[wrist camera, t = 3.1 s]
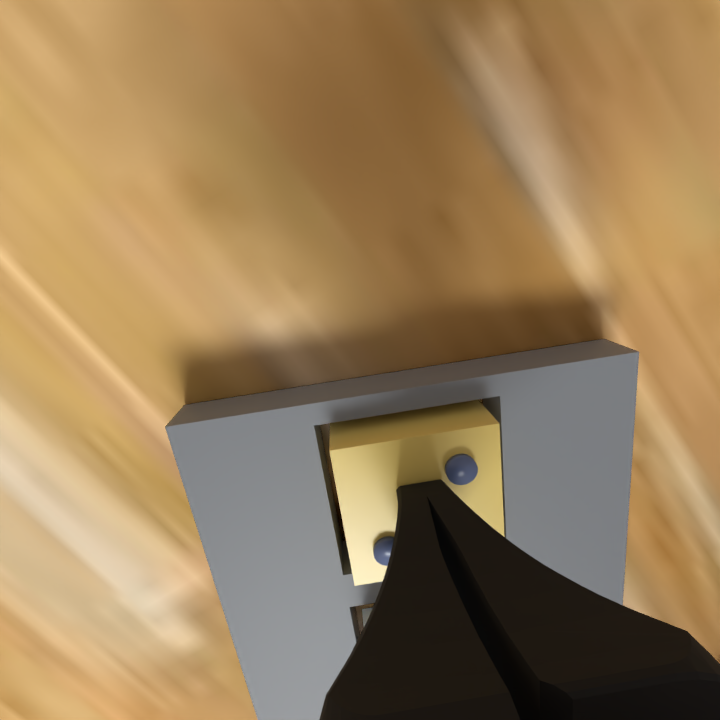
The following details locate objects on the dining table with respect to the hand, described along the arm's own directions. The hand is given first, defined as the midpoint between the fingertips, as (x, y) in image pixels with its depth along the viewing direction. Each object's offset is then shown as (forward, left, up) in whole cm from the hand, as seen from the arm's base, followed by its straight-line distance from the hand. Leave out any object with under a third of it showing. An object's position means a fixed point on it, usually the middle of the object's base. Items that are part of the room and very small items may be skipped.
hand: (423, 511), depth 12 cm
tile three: (0, 0, -2) cm, 2 cm away
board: (0, +7, -3) cm, 7 cm away
